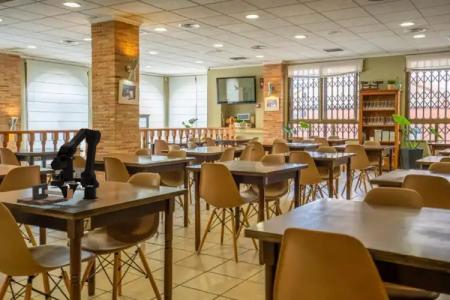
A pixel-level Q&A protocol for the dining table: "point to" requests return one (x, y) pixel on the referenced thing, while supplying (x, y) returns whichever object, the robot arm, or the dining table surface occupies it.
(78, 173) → the goblet set
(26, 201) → the eye board
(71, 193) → the pin
